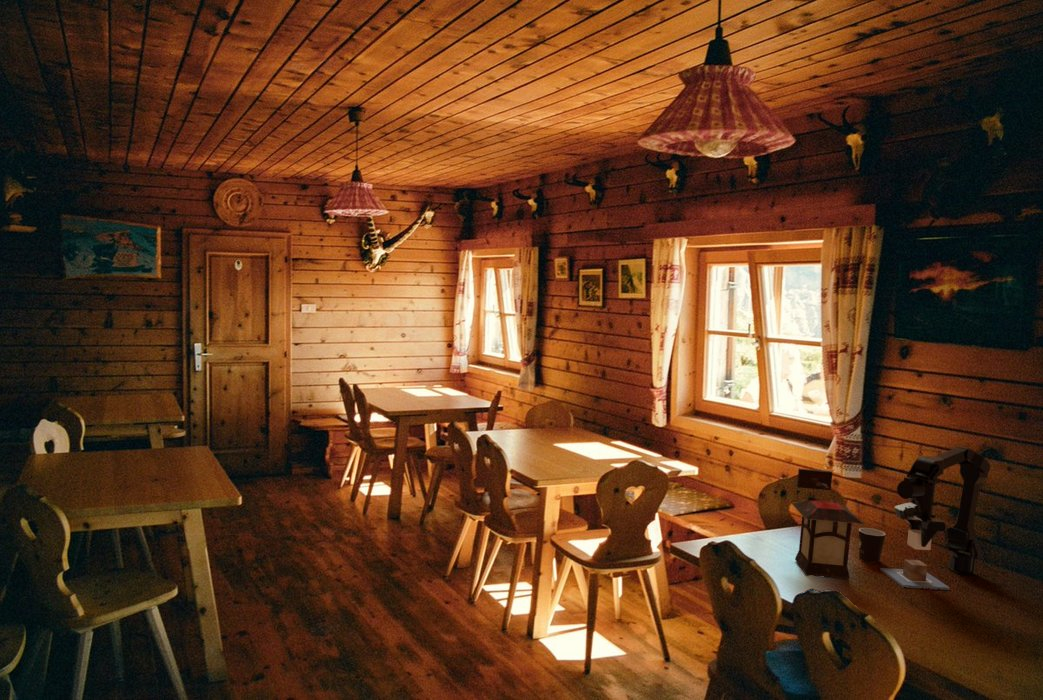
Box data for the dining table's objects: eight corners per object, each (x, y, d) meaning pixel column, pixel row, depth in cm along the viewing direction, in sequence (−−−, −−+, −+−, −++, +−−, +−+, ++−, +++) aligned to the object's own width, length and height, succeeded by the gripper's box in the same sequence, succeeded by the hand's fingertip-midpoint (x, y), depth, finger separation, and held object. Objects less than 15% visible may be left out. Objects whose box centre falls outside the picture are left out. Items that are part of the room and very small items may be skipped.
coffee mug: (879, 566, 267) (882, 537, 266) (852, 559, 272) (855, 531, 271) (887, 558, 276) (890, 530, 275) (861, 551, 281) (864, 524, 281)
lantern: (834, 556, 275) (843, 472, 272) (859, 583, 249) (868, 491, 246) (780, 551, 276) (788, 467, 274) (799, 577, 251) (808, 485, 248)
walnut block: (917, 575, 258) (919, 560, 257) (925, 580, 253) (927, 565, 252) (902, 574, 258) (904, 559, 257) (910, 579, 253) (912, 564, 252)
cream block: (921, 545, 257) (923, 530, 256) (930, 550, 252) (932, 535, 251) (907, 544, 257) (908, 529, 256) (915, 549, 252) (916, 534, 251)
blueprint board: (924, 572, 263) (924, 570, 263) (949, 590, 248) (949, 587, 248) (880, 570, 263) (880, 567, 263) (902, 587, 248) (903, 584, 248)
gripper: (885, 488, 262) (880, 533, 263) (915, 503, 243) (909, 552, 245) (918, 490, 262) (913, 535, 264) (950, 505, 244) (944, 554, 245)
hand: (918, 544), depth 254 cm, fingers closed on cream block, 5 cm apart
